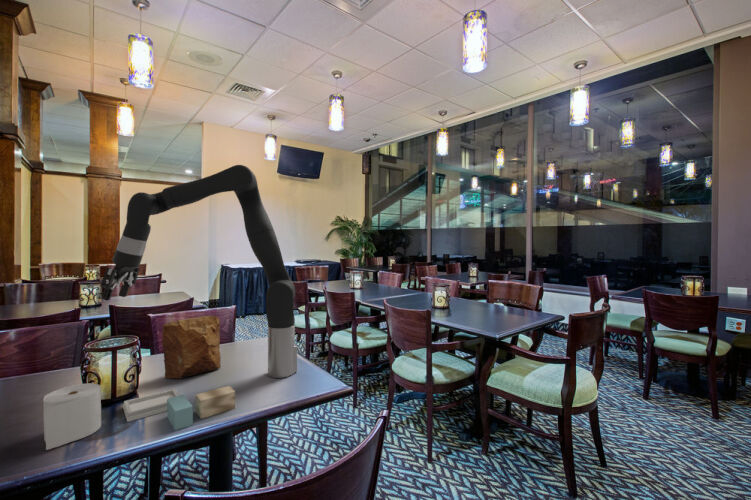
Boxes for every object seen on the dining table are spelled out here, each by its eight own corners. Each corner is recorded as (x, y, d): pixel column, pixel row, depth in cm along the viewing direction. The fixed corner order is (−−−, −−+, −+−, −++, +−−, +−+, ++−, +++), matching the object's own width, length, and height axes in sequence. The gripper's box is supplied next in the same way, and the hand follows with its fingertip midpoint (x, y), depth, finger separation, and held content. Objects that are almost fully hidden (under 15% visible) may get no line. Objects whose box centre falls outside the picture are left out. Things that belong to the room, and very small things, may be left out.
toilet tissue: (100, 416, 93) (99, 379, 93) (103, 435, 84) (102, 395, 84) (45, 430, 86) (44, 391, 86) (42, 453, 77) (41, 408, 77)
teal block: (183, 412, 96) (183, 394, 96) (192, 425, 89) (192, 406, 89) (167, 417, 93) (167, 398, 93) (175, 431, 87) (175, 411, 87)
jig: (175, 394, 107) (175, 388, 106) (183, 406, 99) (183, 399, 99) (123, 407, 98) (123, 400, 98) (127, 421, 90) (127, 414, 90)
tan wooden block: (229, 402, 102) (229, 385, 102) (235, 408, 98) (235, 391, 98) (195, 412, 96) (195, 394, 96) (200, 419, 92) (200, 400, 92)
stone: (219, 364, 133) (218, 312, 132) (223, 373, 124) (223, 317, 123) (162, 373, 123) (161, 317, 123) (162, 384, 114) (161, 323, 113)
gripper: (128, 254, 108) (111, 304, 108) (153, 254, 122) (138, 298, 122) (103, 247, 108) (86, 297, 107) (131, 247, 122) (116, 292, 121)
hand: (114, 297), depth 115 cm, fingers open, 8 cm apart
